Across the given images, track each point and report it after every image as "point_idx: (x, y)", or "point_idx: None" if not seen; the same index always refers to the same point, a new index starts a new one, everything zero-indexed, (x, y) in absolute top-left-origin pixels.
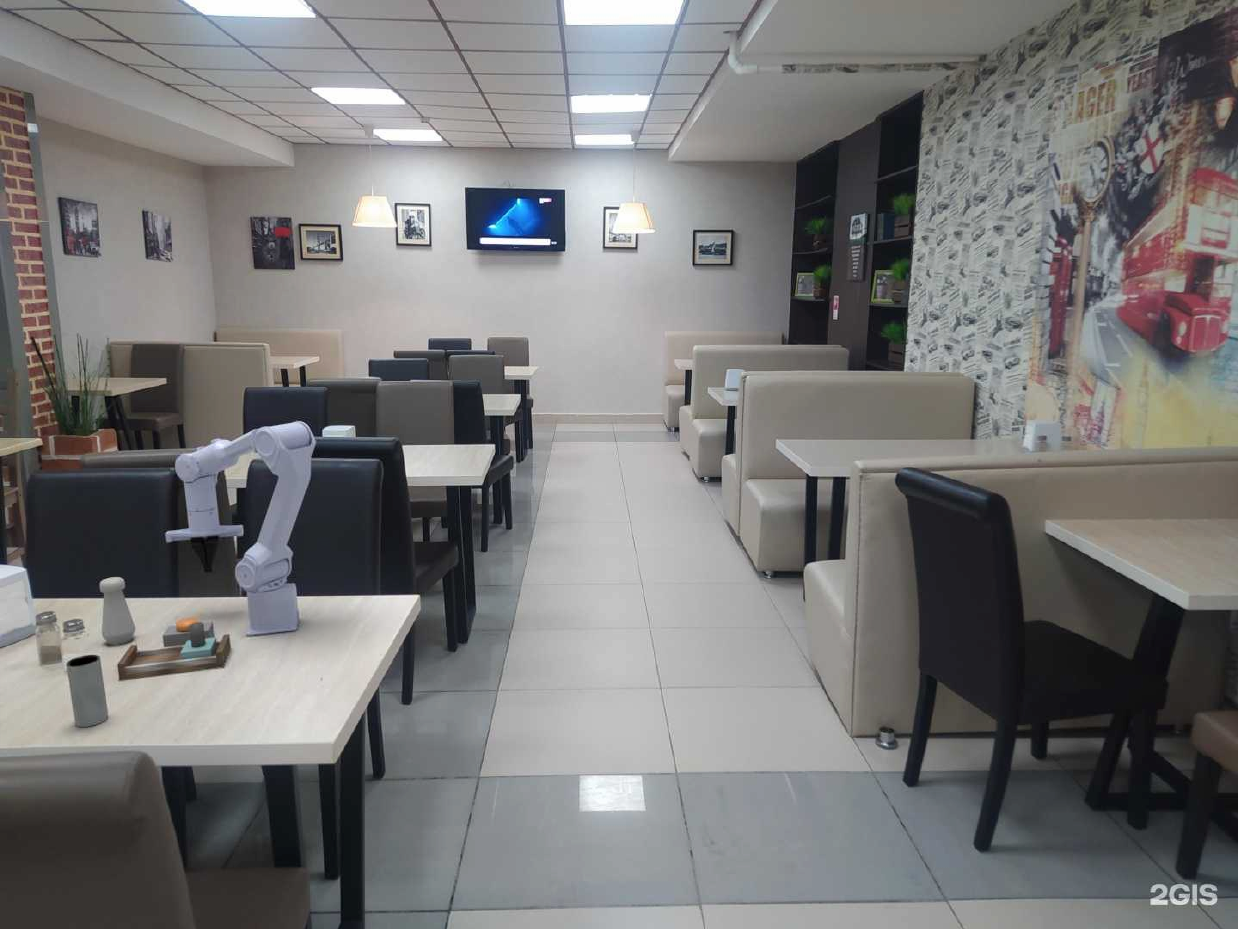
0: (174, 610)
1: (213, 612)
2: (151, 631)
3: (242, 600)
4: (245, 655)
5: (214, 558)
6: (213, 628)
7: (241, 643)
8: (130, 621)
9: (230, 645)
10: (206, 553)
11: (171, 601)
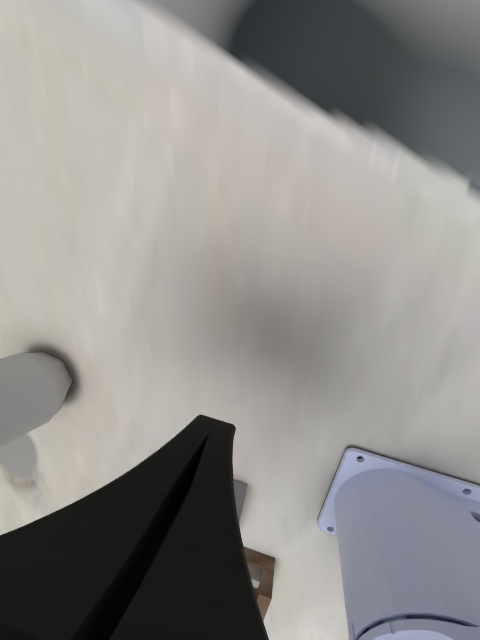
0: (139, 183)
1: (256, 280)
2: (104, 348)
3: (369, 191)
4: (297, 601)
5: (231, 477)
6: (241, 507)
7: (299, 546)
8: (35, 420)
9: (273, 568)
10: (156, 551)
11: (117, 48)
